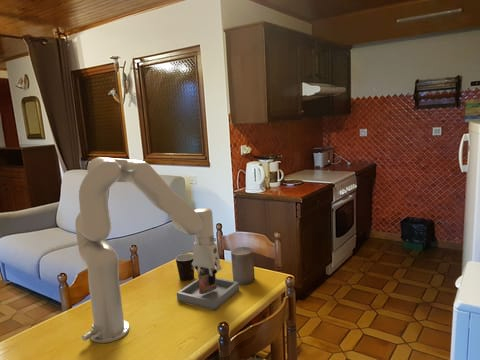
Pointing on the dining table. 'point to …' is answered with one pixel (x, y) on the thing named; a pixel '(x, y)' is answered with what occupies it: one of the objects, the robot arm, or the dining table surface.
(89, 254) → the robot arm
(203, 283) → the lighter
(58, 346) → the dining table surface
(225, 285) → the tray
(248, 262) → the pillar candle
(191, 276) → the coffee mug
